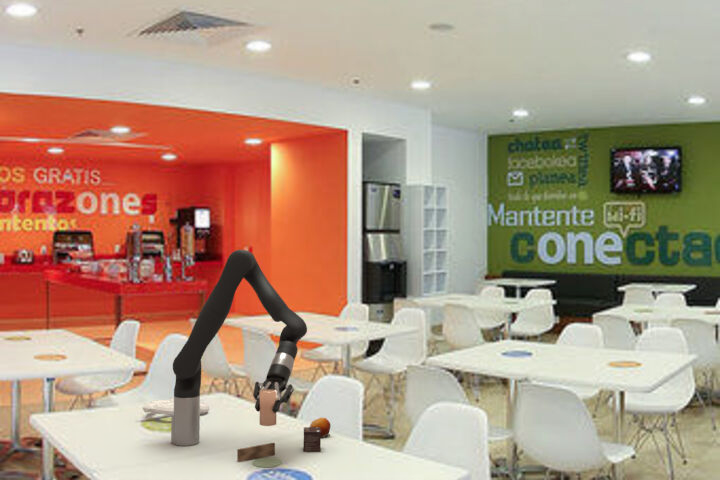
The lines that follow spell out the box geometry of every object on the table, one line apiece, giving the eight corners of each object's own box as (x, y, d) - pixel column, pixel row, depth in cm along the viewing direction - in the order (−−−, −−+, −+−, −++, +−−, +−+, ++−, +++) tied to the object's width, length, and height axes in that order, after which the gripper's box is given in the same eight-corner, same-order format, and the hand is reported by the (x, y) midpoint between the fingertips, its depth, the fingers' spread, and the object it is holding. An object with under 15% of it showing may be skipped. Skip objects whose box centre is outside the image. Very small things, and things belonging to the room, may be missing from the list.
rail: (239, 461, 261) (239, 450, 261) (237, 461, 262) (237, 449, 262) (274, 454, 269) (275, 443, 269) (273, 454, 270) (273, 442, 270)
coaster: (247, 465, 257) (247, 464, 257) (260, 457, 266) (260, 456, 266) (274, 469, 253) (274, 467, 253) (287, 460, 263) (287, 459, 263)
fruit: (332, 435, 289) (322, 416, 290) (314, 445, 291) (304, 426, 292) (337, 430, 297) (327, 412, 298) (320, 439, 299) (310, 421, 300)
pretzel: (163, 410, 340) (164, 395, 340) (214, 415, 335) (216, 400, 336) (133, 416, 312) (135, 400, 313) (189, 422, 308) (190, 405, 309)
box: (303, 447, 279) (303, 427, 279) (320, 447, 280) (320, 426, 279) (303, 452, 273) (303, 431, 273) (320, 452, 273) (320, 431, 273)
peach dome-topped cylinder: (256, 425, 258) (256, 392, 258) (263, 421, 263) (264, 388, 263) (272, 426, 256) (272, 393, 256) (279, 422, 262) (279, 390, 261)
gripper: (258, 361, 269) (242, 403, 258) (296, 364, 264) (282, 406, 253) (265, 373, 274) (249, 415, 263) (302, 376, 269) (288, 419, 258)
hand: (265, 410), depth 258 cm, fingers closed on peach dome-topped cylinder, 5 cm apart
